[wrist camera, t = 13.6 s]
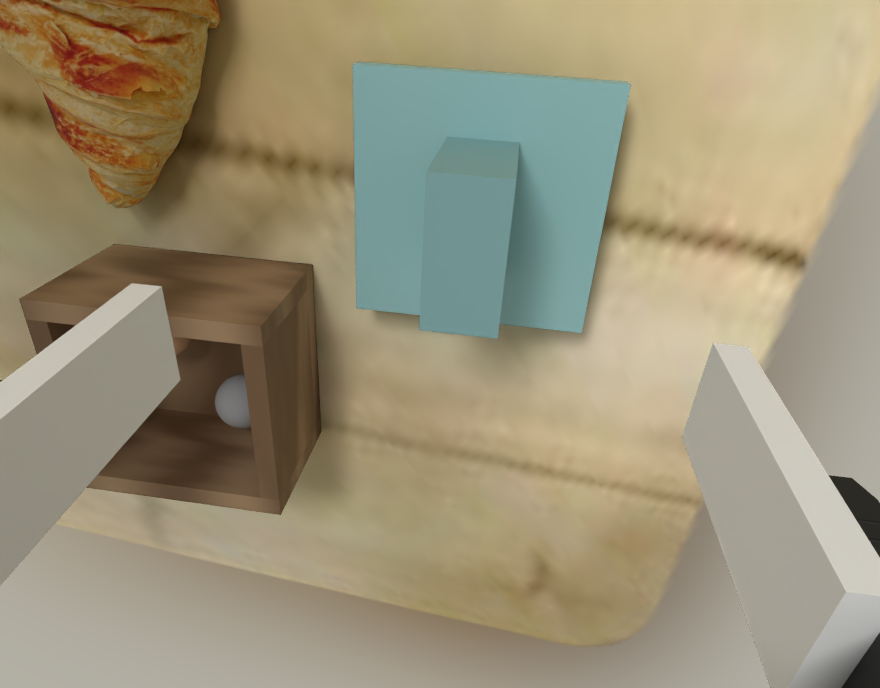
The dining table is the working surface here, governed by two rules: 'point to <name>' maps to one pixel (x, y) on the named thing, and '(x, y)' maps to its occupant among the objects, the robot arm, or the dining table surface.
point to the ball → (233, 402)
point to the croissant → (114, 79)
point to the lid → (481, 194)
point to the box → (208, 372)
